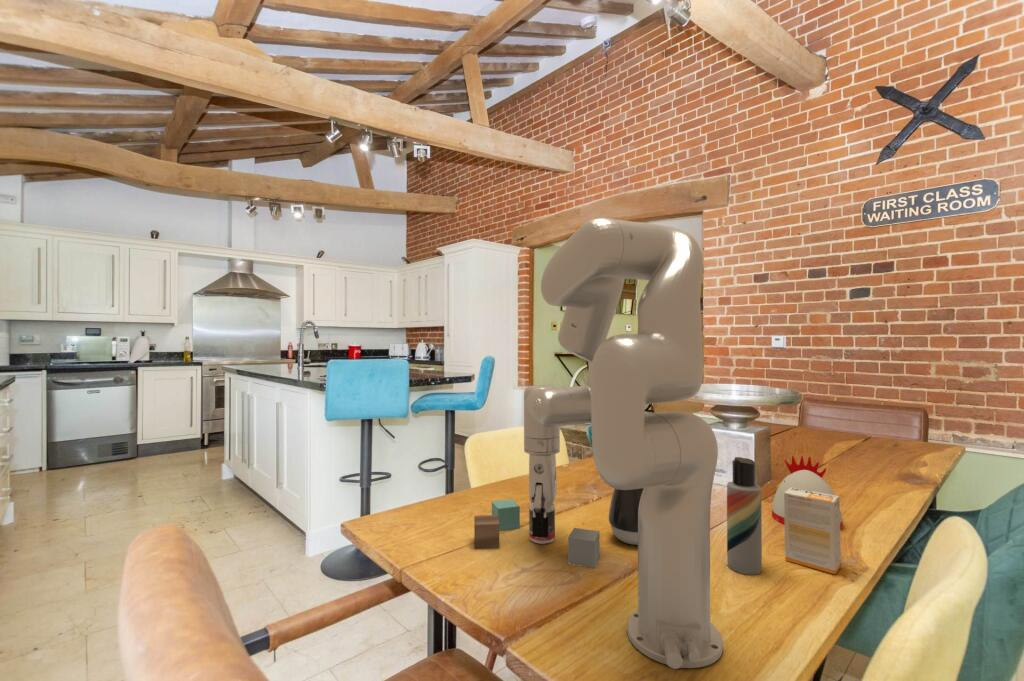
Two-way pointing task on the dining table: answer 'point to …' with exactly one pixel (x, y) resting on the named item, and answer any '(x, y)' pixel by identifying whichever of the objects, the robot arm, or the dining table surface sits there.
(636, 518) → the pump dispenser
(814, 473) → the kitchen timer
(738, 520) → the lotion bottle
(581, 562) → the slate-grey block
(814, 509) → the supplement box
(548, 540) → the pill bottle
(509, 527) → the teal block
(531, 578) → the dining table surface
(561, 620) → the dining table surface
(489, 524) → the walnut block
